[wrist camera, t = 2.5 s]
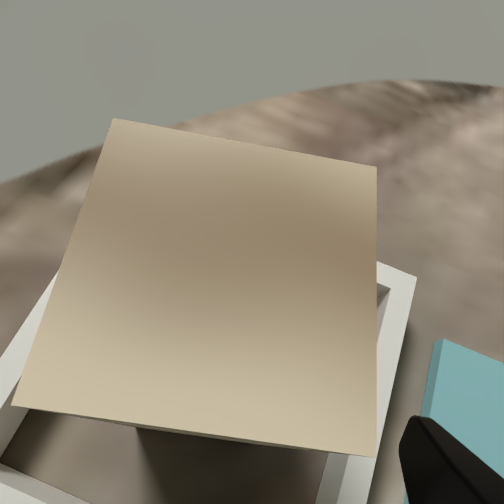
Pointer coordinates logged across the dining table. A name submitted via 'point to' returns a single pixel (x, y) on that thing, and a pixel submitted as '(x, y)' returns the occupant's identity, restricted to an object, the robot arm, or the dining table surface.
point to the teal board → (467, 400)
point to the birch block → (216, 295)
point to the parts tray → (337, 465)
